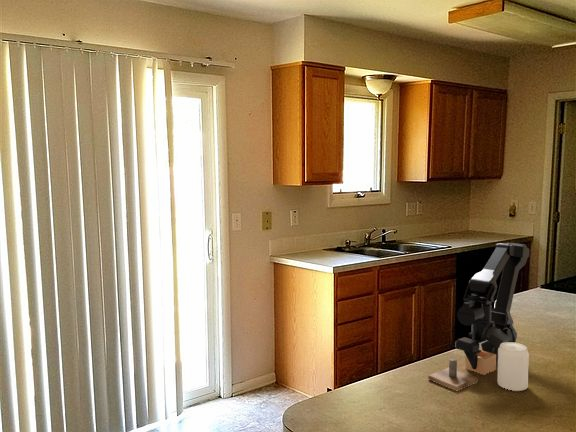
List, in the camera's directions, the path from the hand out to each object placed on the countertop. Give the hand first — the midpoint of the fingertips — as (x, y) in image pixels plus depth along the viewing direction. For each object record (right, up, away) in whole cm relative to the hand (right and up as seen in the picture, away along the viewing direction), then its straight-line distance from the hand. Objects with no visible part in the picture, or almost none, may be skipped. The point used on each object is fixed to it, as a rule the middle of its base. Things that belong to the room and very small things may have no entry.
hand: (480, 366), depth 162 cm
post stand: (-11, -2, -8) cm, 14 cm away
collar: (0, -1, 0) cm, 1 cm away
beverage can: (+5, -2, -12) cm, 13 cm away
